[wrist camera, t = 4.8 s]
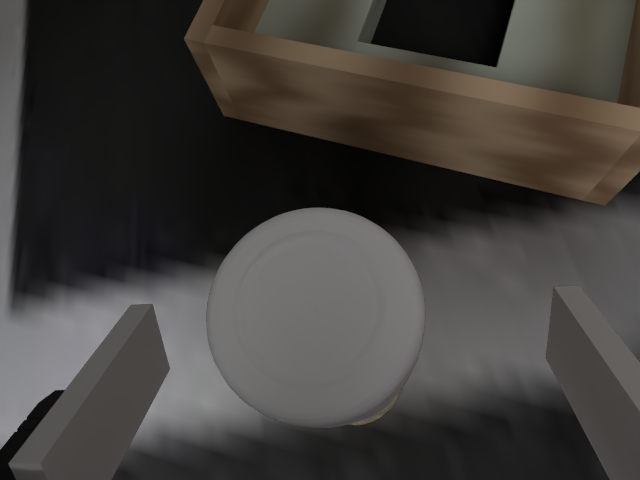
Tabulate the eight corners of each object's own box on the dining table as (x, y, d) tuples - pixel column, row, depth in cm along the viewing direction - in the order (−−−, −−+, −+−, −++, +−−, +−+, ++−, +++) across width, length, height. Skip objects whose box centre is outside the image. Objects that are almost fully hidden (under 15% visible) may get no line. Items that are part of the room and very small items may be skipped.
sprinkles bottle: (411, 332, 23) (444, 218, 10) (394, 438, 21) (408, 455, 9) (313, 313, 24) (233, 186, 11) (290, 413, 22) (169, 397, 10)
